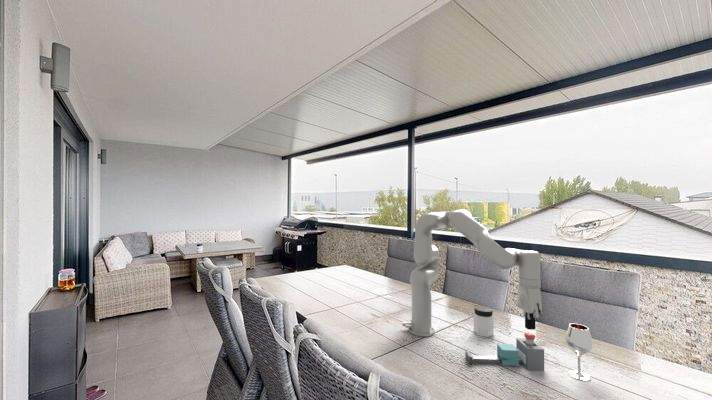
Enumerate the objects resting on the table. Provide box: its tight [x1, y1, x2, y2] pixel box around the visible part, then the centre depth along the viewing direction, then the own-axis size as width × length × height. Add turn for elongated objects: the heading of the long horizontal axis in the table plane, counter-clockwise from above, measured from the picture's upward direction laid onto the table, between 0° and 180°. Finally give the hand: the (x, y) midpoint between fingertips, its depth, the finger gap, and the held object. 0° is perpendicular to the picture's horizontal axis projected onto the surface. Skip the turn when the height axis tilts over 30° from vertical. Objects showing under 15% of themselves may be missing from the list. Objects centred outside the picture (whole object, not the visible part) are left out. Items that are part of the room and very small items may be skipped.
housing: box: [515, 337, 545, 372], centre depth 116 cm, size 6×9×8 cm
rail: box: [464, 350, 524, 366], centre depth 116 cm, size 21×5×3 cm, turn 87°
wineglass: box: [564, 323, 594, 382], centre depth 108 cm, size 8×8×18 cm
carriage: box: [496, 343, 520, 367], centre depth 116 cm, size 6×5×6 cm
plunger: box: [523, 332, 536, 346], centre depth 116 cm, size 4×4×5 cm
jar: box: [473, 305, 495, 338], centre depth 143 cm, size 9×8×12 cm
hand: (530, 328), depth 116 cm, fingers closed
